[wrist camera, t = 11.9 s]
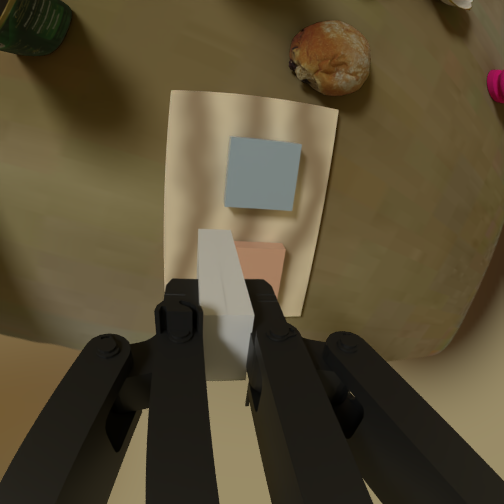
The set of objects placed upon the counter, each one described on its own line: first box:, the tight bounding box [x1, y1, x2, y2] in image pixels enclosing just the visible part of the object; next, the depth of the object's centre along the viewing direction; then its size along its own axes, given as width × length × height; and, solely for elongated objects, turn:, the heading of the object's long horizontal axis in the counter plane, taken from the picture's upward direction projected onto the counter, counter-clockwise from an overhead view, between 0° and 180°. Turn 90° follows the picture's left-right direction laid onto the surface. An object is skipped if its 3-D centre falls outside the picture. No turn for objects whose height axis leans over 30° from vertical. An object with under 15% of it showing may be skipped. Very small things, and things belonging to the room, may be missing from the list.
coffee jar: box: [0, 0, 72, 56], centre depth 16 cm, size 10×8×19 cm
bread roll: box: [289, 20, 371, 96], centre depth 31 cm, size 10×10×8 cm
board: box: [164, 90, 339, 317], centre depth 39 cm, size 20×30×1 cm, turn 174°
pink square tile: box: [234, 241, 286, 298], centre depth 41 cm, size 2×8×8 cm
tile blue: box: [223, 136, 302, 211], centre depth 36 cm, size 2×8×8 cm
